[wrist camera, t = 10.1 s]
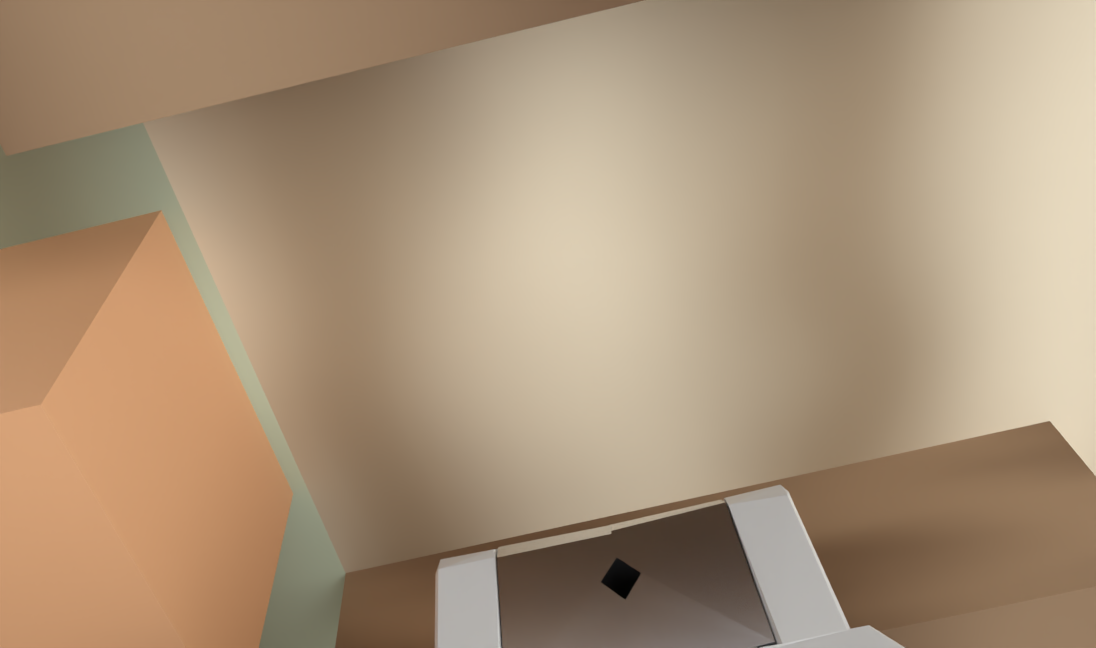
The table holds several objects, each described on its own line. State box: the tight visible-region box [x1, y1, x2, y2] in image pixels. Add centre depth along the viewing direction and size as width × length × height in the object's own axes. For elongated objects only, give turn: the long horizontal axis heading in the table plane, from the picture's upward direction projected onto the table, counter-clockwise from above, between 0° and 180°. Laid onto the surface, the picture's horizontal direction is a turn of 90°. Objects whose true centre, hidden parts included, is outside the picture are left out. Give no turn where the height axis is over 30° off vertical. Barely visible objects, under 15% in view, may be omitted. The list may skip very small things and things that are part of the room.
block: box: [0, 210, 293, 648], centre depth 12 cm, size 4×4×4 cm
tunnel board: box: [0, 0, 1096, 648], centre depth 13 cm, size 28×14×5 cm, turn 103°
